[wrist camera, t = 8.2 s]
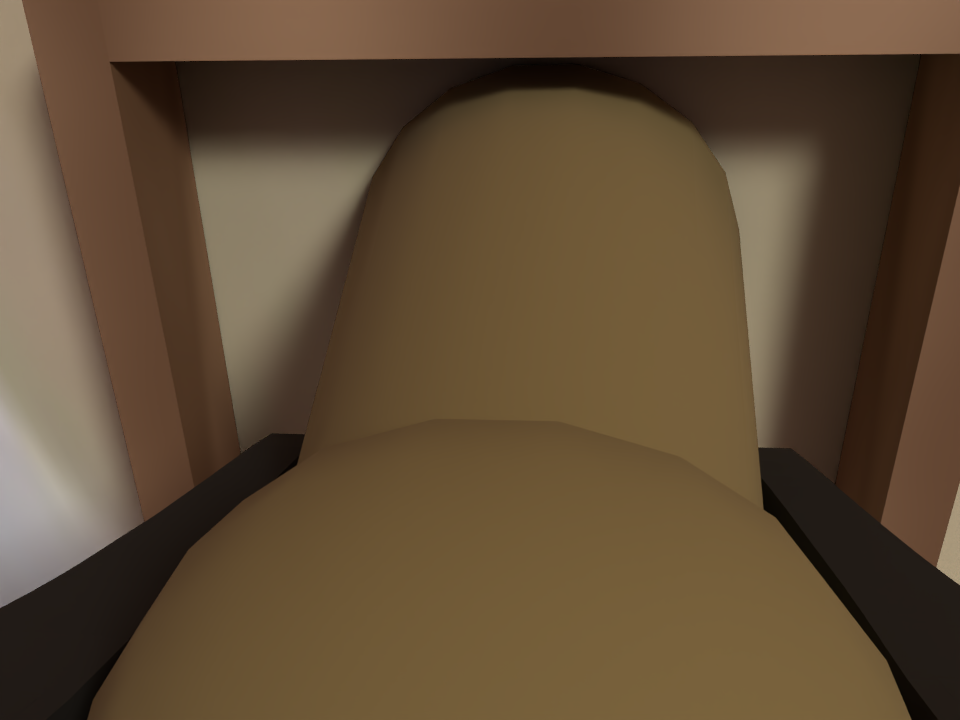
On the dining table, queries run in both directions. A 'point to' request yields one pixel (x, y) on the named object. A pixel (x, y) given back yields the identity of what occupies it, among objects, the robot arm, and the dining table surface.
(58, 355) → the dining table surface
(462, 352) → the cork
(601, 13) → the walnut collar block
